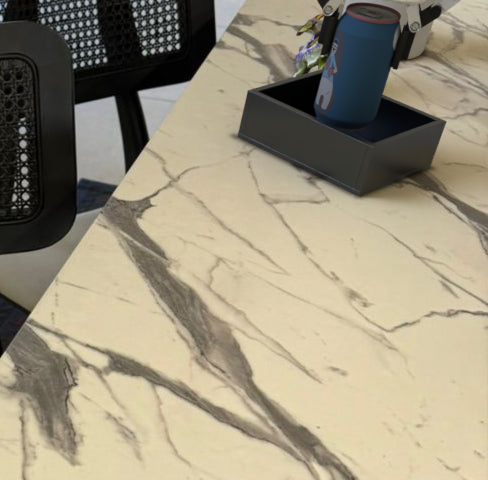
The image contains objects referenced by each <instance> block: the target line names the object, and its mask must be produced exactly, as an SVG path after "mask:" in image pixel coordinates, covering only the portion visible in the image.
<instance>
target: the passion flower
mask: <svg viewBox="0 0 488 480" xmlns="http://www.w3.org/2000/svg"><path fill="white" fill-rule="evenodd" d="M322 18H324V14H323V12H321V13H319V14H317V15H315V16H314V17H312V18H311V19H310V18H309V19H308V20H307V22H306V23H305V24H303V25H302V26H301V27H300V28H299V29H298V31H297V32H296V34H295V36H296V37H300V36H301V35H303V34H304V33H306V32H308V31H310V30H311V31H313V34H312V36H311V38H310V39H309V40H308V41H306V42H305V43H304V45H301V46H299V49H298V53H297V54H295V57H294V59H293V61H294V65H295V68H296V69H297V72H295V73H294V75H293V76H292V78H293V77H296V76H300V75H303V74H307V73H310V72H311V70H312V68H315V67H318V68H317V70H321V69H322V70H324V66H325V63H326V59H327V55H328V54H327V55H326V54H325V56H324V55H320V54H321V50H322V46H323V44H318V43H317V42H318V38H319V34H320V30H318V28H317V26H316V25H317V24H318V23H319V21H320V20H321V19H322ZM338 20H339V18H338Z"/></svg>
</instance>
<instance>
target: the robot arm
mask: <svg viewBox="0 0 488 480" xmlns="http://www.w3.org/2000/svg"><path fill="white" fill-rule="evenodd" d="M316 1H317V3H318V4H319V6H320V8H321V10H322V13H323V14H324V17H323V19H322V23H321V27H320V30H319V31H320V34H319V38H318V42H317V43H318V44H323V46H322V50H321V54H320V55H324V56H325V54H326V55H327V54H328V52H329V48H330V44H331V41H332V37H333V33H334V30H335V26H336V23H337V21H338V19H339V18H340V6H341V5H342V4H343V2H344V1H345V0H316ZM385 1H390V2H396V3H402V4H405V8H406V14H407V20H408V21H407V24H406V25H404V27H403V30H402V33H401V37H400V40H399V43H398V46H397V50H396V53H395V56H394V59H393V62H392V66H391V69H392V70H396V71H398V68H399V66H400V63H401V61H405V62H407V61H408V60H409V59H408V56H409V53H410V50H411V47H412V44H413V41H414V38H415V35H416V32H418V31H419V30H420V29H421V28H422V27H424V26H426V25H427V24H429V23H430V22H432V21H433V22H434V21H435V20H437V19H439V18H440V17H441V16H442V15H443V14H444V13H446V12H447V11H449V10H450V9H451V8H453V7H454V6H456V5H457V4H458V3H460V2H461V0H438V1H437V2H436V3H433V4H432V5H430V6H429V7H427V8H425V9H424V10H422V9H421V3H424V2H425V1H426V0H385Z"/></svg>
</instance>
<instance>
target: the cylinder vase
mask: <svg viewBox="0 0 488 480" xmlns="http://www.w3.org/2000/svg"><path fill="white" fill-rule="evenodd" d="M437 1H438V0H426V1H425V2H424V3H421V9H422V10H424V9H425V8H427V7H429V6H430V5H432V4H433V3H436V2H437ZM352 3H373V4H379V5H383V6H387V7H390V8H393V9H395V10H396V11H398V12H399V13H400V14H401V18H400V20H399V21H400V27H401V33H402V30H403V27H404V25H406V24H407V21H408V20H407V14H406V8H405V4H402V3H396V2H390V1H385V0H345V2H344V6H343V9H342V13H341V16H342V15H343V14H344V12H345V11H346V7H347V6H348V5H349V4H352ZM433 24H434V21H432V22H430V23H429V24H427V25H426V26H424V27H422V28H421V29H420V30H419V31H418V32H416V35H415V38H414V41H413V44H412V47H411V50H410V53H409V56H408V59H407V60H412V59H415V58H417V57H419V56H420V55H421V54H422V53H423V52H424V51H425V48H426V46H427V43H428V39H429V35H430V33H431V30H432V28H433Z"/></svg>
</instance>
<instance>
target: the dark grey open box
mask: <svg viewBox="0 0 488 480" xmlns="http://www.w3.org/2000/svg"><path fill="white" fill-rule="evenodd" d="M322 74H323V70H322V69H321V70H318V69H317V70H313V71H309V72H308V73H307V74H303V75H300V76H296V77H293V76H292V77H289V78H286V79H283V80H278V81H277V82H276V81H275V82H271V83H269V84H265V85H262V86H258V87H255V88H252V89H251V88H250V89H247V93H246V97H245V100H244V101H245V102H244V106H243V110H242V114H241V119H240V123H239V128H238V133H237V138H238V139H240V140H242V141H244V142H246V143H248V144H250V145H252V146H254V147H256V148H258V149H260V150H263V151H264V152H267V153H269V154H271V155H273V156H274V157H277V158H279V159H281V160H283V161H285V162H287V163H289V164H291V165H292V166H295V167H297V168H299V169H301V170H303V171H305V172H307V173H309V174H311V175H313V176H316V177H317V178H319V179H321V180H324V181H325V182H328V183H329V184H332V185H333V186H336V187H338V188H340V189H342V190H344V191H346V192H348V193H350V194H353V195H354V196H356V197H358V198H359V197H363V196H365V195H367V194H368V193H369V194H370V193H372V192H374V191H377V190H379V189H382V188H385V187H386V186H389V185H392V184H395V183H397V182H400V181H402V180H404V179H407V178H409V177H412V176H415V175H417V174H419V173H422V172H425V171H427V170H429V169H430V168H431V166H432V164H433V161H434V157H435V155H436V152H437V150H438V147H439V144H440V142H441V138H442V135H443V132H444V130H445V127H446V125H447V121H446V120H444V119H442V118H440V117H437V116H435V115H433V114H430V113H428V112H425V111H424V110H420V109H418V108H416V107H413V106H411V105H409V104H406V103H404V102H402V101H399V100H396V99H394V98H392V97H390V96H387V95H385V94H383V95H382V98H381V101H380V104H379V108H378V111H377V114H376V117H375V118H374V120H373V121H372V122H371V123H370V124H369V125H367V126H366V127H365V128H364V129H362V130H359V131H344V130H342V129H340V128H337V127H335V126H333V125H331V124H329V123H326V122H324V121H322V120H320V119H317V116H316V112H315V108H314V103H315V99H316V95H317V92H318V88H319V84H320V81H321V77H322Z"/></svg>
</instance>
